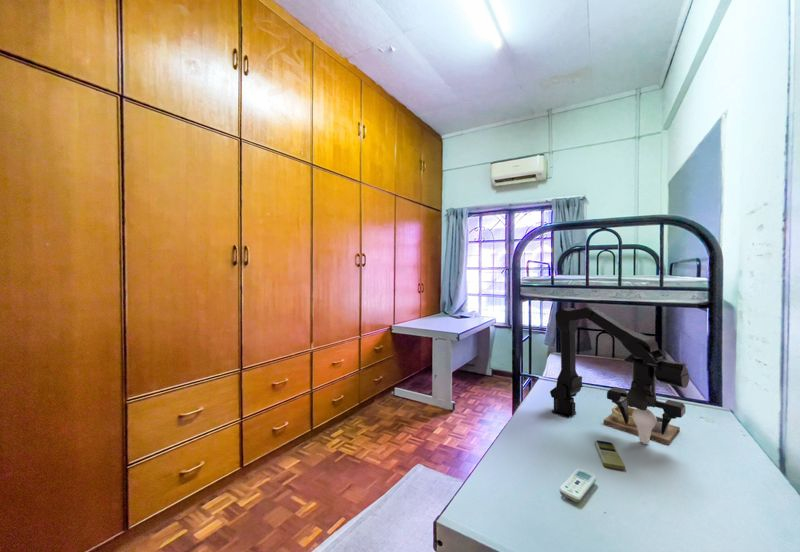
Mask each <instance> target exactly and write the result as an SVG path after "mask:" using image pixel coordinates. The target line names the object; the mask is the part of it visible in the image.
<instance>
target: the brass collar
mask: <svg viewBox="0 0 800 552" xmlns="http://www.w3.org/2000/svg"><path fill="white" fill-rule="evenodd" d="M635 409H636V408H634V407H629V406H628V416H629V419H628V423H627V425H630V426H636V424H635V422H634V421H633V418H632V413H633V411H634V410H635ZM611 414H612V417H613V418H614V419H615V420H616V421H617V422H620V423H623V424H626V423H625V421H624V418H623V416H622V413H621V411H620V409H619V407H618V406H617V405H615V406H614V407H612V408H611Z"/></svg>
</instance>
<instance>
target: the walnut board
mask: <svg viewBox="0 0 800 552" xmlns="http://www.w3.org/2000/svg"><path fill="white" fill-rule="evenodd" d="M603 425H605V426H609V427H610V428H615V429H617V430H620V431H624V432H626V433H631V434H633V435H636V436H639V434H638V429H637V426H630V425H627V424H623V423H620V422H617V421H616V420H615V419H614V418H613V417H612V413H611V414H610V415H608V416H607V417H605V418H604V419H603ZM680 430H681V428H680V427H679V426H677V425H673V424H670V423H669V425H668V431H667V432H665V433H664V435H662V433H661V432H657V431H654V430H652V431H651V436H650V441H651V440H652V441H655V442H659V443H662V444H665V445H668V446H670V445H671V443H672V442H673V441H674V440H675V438H677V436H678V435H679V433H680V432H681V431H680Z"/></svg>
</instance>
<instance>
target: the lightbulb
mask: <svg viewBox="0 0 800 552" xmlns="http://www.w3.org/2000/svg"><path fill="white" fill-rule="evenodd" d="M656 416H657V415H656V414H655V413H654V412H653V410H651V409H649V408H647V409H646V410H640V409H638V408H635V410H634V411H633V413H632V418H633V421H634V422H635V424H636V426H637V429H638V434H639V435H638V437H639V438H638V439H639V442H641V443H642V444H644V445H647V444H649V443H650V442H651V439H650V436H651V431H652V429H653V428H654V427H655V425H656V423H657V418H656Z"/></svg>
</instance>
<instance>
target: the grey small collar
mask: <svg viewBox="0 0 800 552" xmlns="http://www.w3.org/2000/svg"><path fill="white" fill-rule="evenodd" d="M655 416H656V418H657V423H656V425H655V427H654V428H653V429H652V430H654V431H657V432H661V428H662V420H663V417H662V416H657V415H655ZM667 431H668V427H667V429H666V431H665V432H667Z"/></svg>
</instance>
